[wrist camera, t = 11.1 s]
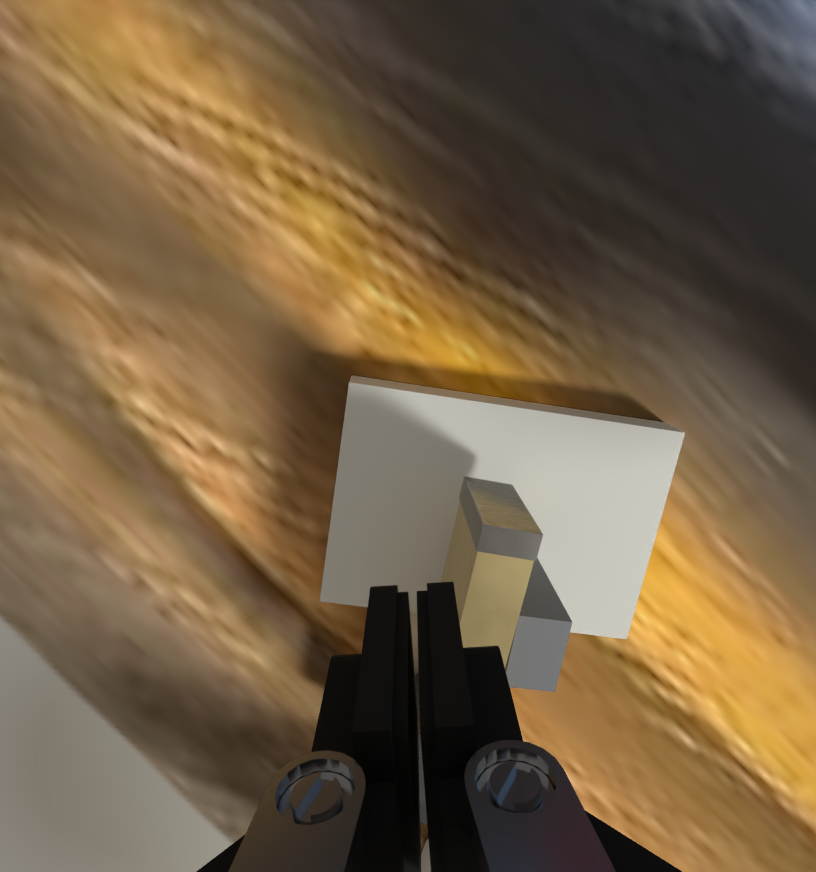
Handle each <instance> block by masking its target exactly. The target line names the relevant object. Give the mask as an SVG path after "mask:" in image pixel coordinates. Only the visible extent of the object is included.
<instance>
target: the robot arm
mask: <svg viewBox="0 0 816 872" xmlns="http://www.w3.org/2000/svg"><path fill="white" fill-rule="evenodd" d="M417 629H418V669H419V710H420V734H421V749H422V762H423V775H424V788H425V800H426V813H427V826H428V839H429V852H430V865H431V872H682V871H680V870H679V869H677V868H675V867H674V866H672V865H671V864H669V863H668V862H666V861H664V860H663V859H661V858H660V857H658V856H656V855H655V854H653V853H652V852H650V851H648V850H647V849H645V848H644V847H642V846H641V845H639V844H637V843H636V842H634V841H633V840H631V839H629V838H628V837H626V836H625V835H623V834H621V833H620V832H618V831H617V830H615V829H614V828H612V827H610V826H609V825H607V824H606V823H604V822H602V821H601V820H599V819H598V818H596V817H595V816H593V815H591V814H590V813H588V812H587V811H585V810H584V808H583V806H582V804H581V802H580V800H579V798H578V796H577V795H576V793H575V791H574V789H573V787H572V785H571V783H570V781H569V779H568V777H567V775H566V773H565V771H564V769H563V768H562V766H561V765H560V764H559V762H558V761H557V760H556V758H555V757H554V756H552V755H551V754H550V753H548V752H547V751H546V750H545V749H543V748H541V747H538V746H536V745H534V744H532V743H529V742H524V741H523V739H522V735H521V731H520V727H519V723H518V719H517V715H516V711H515V707H514V703H513V699H512V695H511V691H510V687H509V683H508V679H507V675H506V671H505V667H504V663H503V659H502V655H501V651H500V648H499V646H483V647H466V648H463V643H462V637H461V630H460V623H459V616H458V610H457V603H456V596H455V590H454V583H453V582H437V583H427V590H425V591H417ZM197 872H421V834H420V786H419V738H418V710H417V696H416V683H415V671H414V658H413V645H412V632H411V619H410V606H409V595H408V592H398V586H397V585H390V586H374V587H370V593H369V601H368V609H367V617H366V624H365V632H364V640H363V648H362V654H351V655H334V656H332V658H331V661H330V665H329V670H328V675H327V680H326V685H325V689H324V694H323V699H322V704H321V709H320V713H319V718H318V723H317V728H316V733H315V738H314V742H313V747H312V752H311V753H308V754H304V755H301V756H299V757H297V758H295V759H294V760H292V761H290V762H288V763H287V764H285V765H284V766H283V767H282V768H281V769H280V770H279V771H278V772H277V773H276V774H275V775H274V777H273V778H272V780H271V781H270V783H269V784H268V786H267V788H266V790H265V792H264V795H263V797H262V799H261V801H260V803H259V806H258V808H257V810H256V812H255V814H254V817H253V819H252V821H251V823H250V825H249V828H248V830H247V832H246V834H245V835H244V836H243V837H241V838H240V839H239V840H237V841H236V842H235V843H233V844H232V845H231V846H230V847H228V848H227V849H226V850H224V851H223V852H222V853H220V854H219V855H218V856H216V857H215V858H214V859H212V860H211V861H210V862H209V863H207V864H206V865H205V866H203V867H202V868H201V869H199V870H198V871H197Z"/></svg>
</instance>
